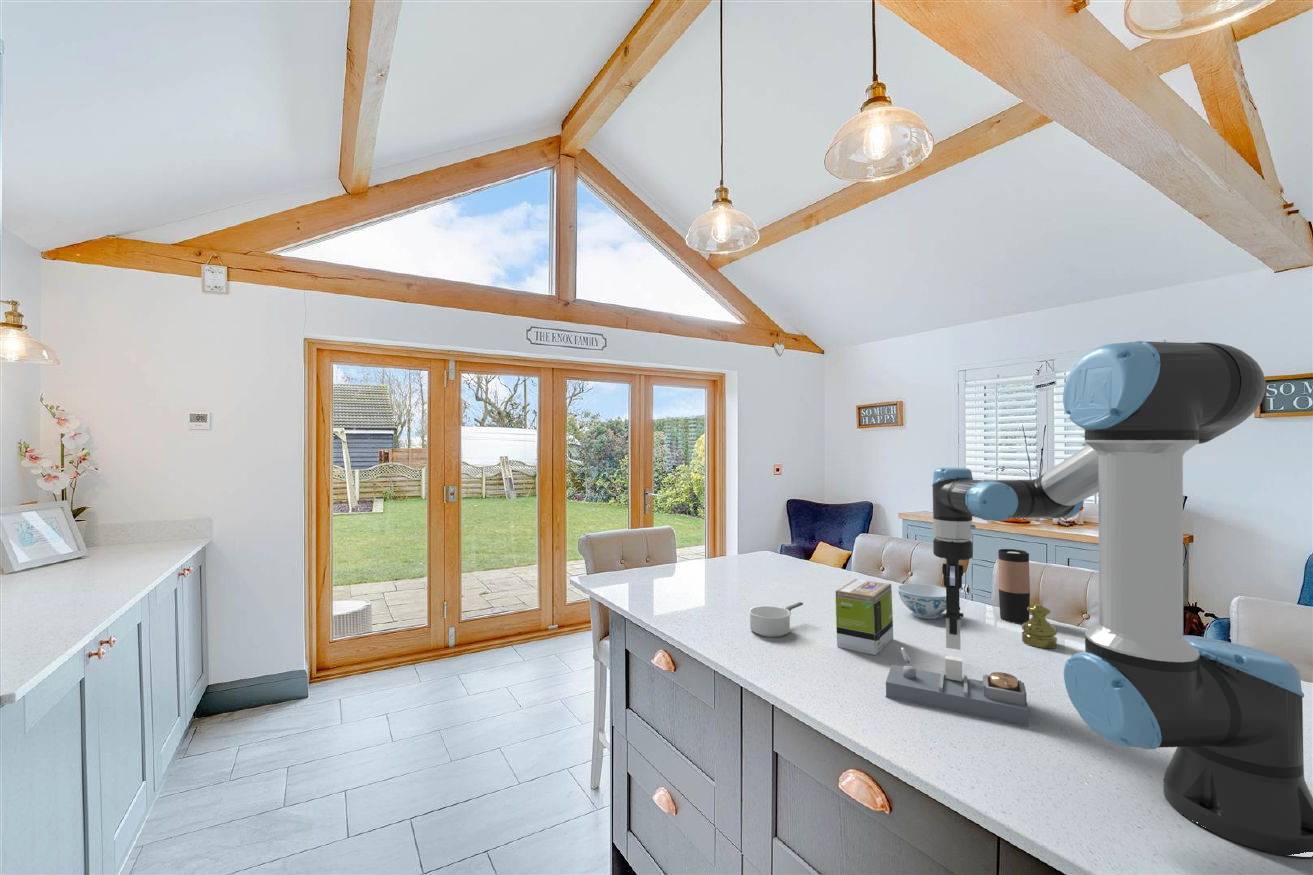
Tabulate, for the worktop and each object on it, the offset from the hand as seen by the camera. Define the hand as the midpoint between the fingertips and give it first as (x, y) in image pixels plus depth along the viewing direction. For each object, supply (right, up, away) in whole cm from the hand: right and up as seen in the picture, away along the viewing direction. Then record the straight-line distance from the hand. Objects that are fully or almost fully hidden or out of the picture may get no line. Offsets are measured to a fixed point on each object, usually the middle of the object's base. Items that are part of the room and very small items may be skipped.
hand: (953, 647), depth 117 cm
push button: (+2, -3, -13) cm, 14 cm away
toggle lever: (-12, -2, -5) cm, 13 cm away
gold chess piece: (+34, -8, +22) cm, 41 cm away
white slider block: (-3, -4, -6) cm, 8 cm away
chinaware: (+16, -8, +45) cm, 49 cm away
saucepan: (-30, -8, +35) cm, 46 cm away
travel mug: (+40, -8, +41) cm, 58 cm away
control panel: (-5, -7, -9) cm, 13 cm away
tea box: (-10, -8, +23) cm, 26 cm away
